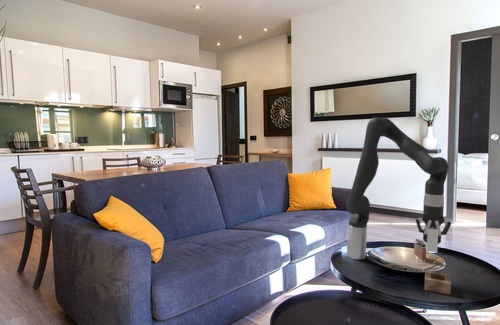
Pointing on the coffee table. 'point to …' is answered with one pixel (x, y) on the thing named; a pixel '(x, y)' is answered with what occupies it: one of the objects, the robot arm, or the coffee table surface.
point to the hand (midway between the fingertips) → (431, 242)
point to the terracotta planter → (420, 249)
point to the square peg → (432, 239)
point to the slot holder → (437, 282)
